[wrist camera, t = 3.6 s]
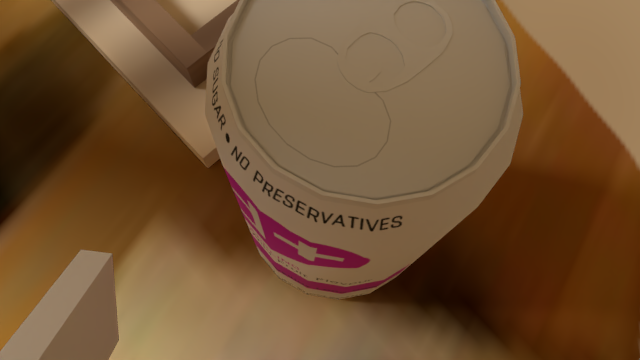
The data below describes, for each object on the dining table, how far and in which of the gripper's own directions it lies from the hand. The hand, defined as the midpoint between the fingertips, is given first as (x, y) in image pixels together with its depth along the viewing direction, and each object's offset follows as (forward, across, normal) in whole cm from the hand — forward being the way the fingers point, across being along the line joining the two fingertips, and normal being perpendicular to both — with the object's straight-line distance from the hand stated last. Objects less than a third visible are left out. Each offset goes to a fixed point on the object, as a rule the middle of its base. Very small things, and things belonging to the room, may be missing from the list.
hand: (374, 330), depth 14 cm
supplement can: (+13, -1, -5) cm, 14 cm away
